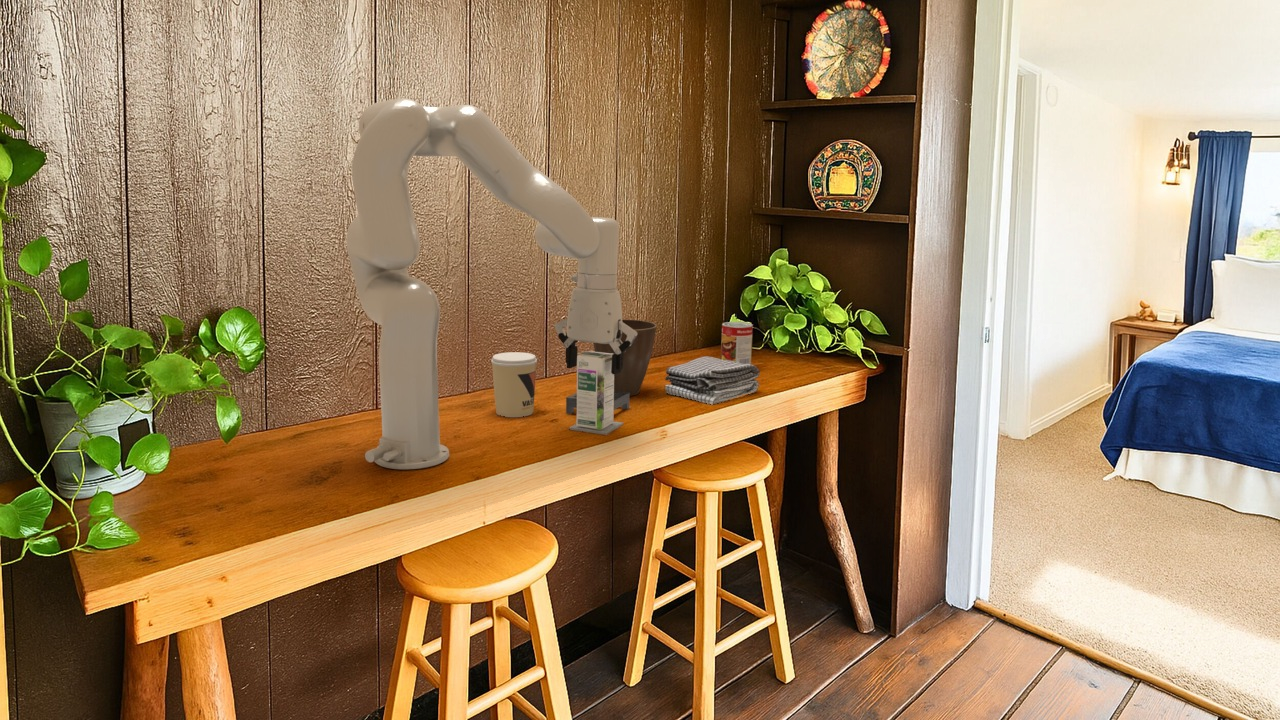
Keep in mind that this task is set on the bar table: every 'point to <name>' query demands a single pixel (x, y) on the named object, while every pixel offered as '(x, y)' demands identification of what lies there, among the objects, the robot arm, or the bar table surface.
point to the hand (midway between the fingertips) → (593, 370)
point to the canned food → (736, 342)
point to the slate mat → (603, 431)
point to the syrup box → (595, 390)
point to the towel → (712, 380)
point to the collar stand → (619, 400)
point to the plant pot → (633, 356)
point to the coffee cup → (514, 383)
